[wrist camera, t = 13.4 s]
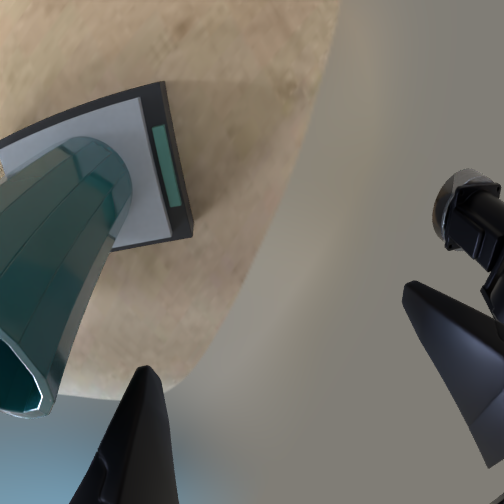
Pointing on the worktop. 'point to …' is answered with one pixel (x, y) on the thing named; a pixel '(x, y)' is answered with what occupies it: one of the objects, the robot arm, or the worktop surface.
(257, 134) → the worktop surface
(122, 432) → the robot arm
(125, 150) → the scale
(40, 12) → the worktop surface
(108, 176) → the cup
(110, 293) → the worktop surface
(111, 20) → the worktop surface
